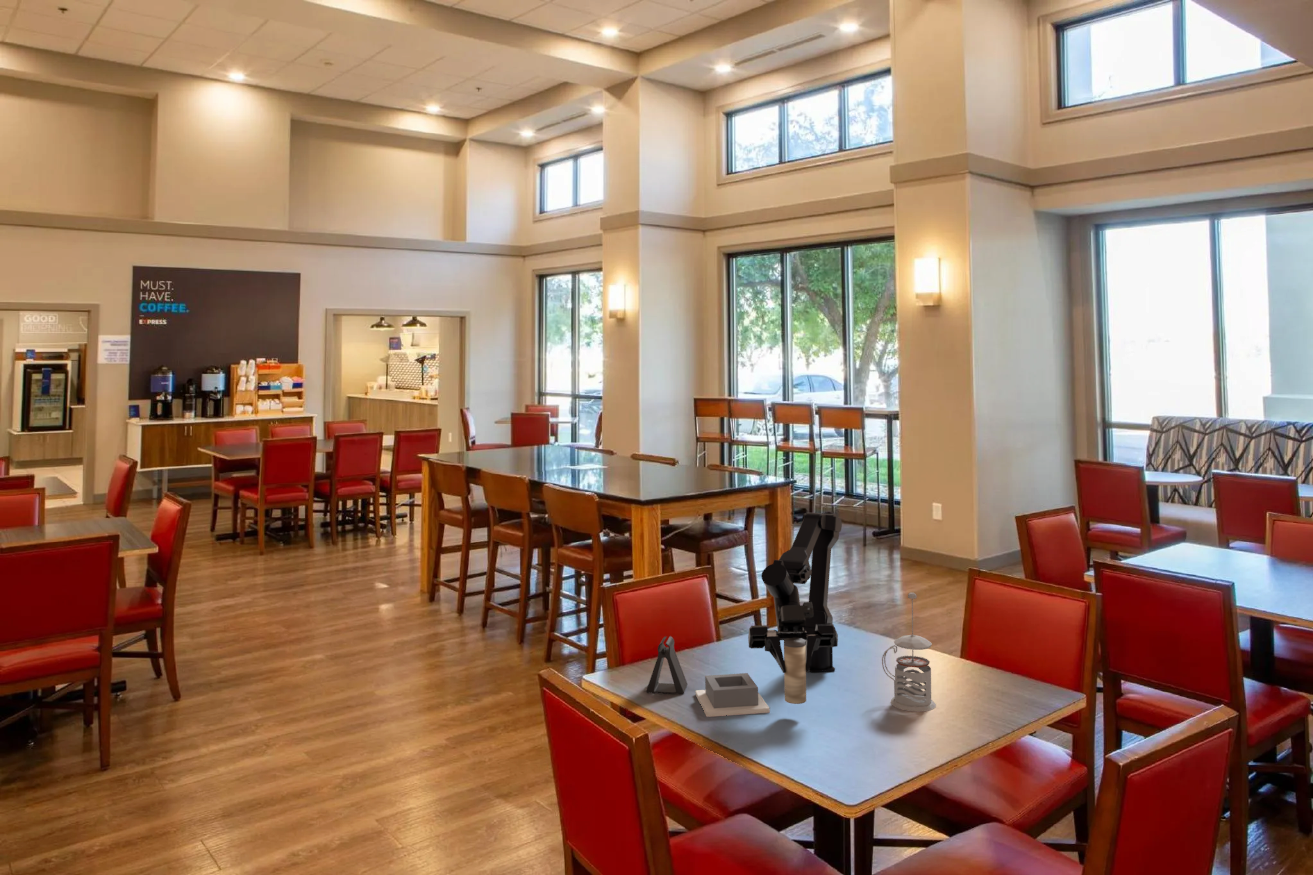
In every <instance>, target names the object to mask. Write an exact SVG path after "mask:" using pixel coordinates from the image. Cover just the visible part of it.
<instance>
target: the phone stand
mask: <svg viewBox="0 0 1313 875" xmlns="http://www.w3.org/2000/svg"><path fill="white" fill-rule="evenodd" d="M666 639H667V636H666V635H665V636H664V637H663V638H662V640H661V641H660V643H659V645H658V646H657V653H658V654H657V658H656V662H655V664H654V667H653V670H652V674H651V676H650V679H649V682H648V685H647V688H646V691H645V692H646V693H647V694H661V695H662V694H666V695H667V694H668V695H684V694H685V692H686V689H687V687H688V682H687V679H686V676H685V674H684V671H683V669H682V666H681V664H680V661H679V660H680V659H679V658H678V655H677V652H676V651H675V639H674V638H673V637H672V636H671V635H670V636H669V637H668V639H667V640H666ZM665 641H666V642H665ZM664 642H665V643H664ZM665 645H666V646H665ZM665 659H666V661H667V664H668V668H669V671H670V672H669V673H670V675H671V679H672V681H673V682H672V683H665V682H664V683H662V682H659V680H660V677H661V672H662V668H663V665H664V660H665Z"/></svg>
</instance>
